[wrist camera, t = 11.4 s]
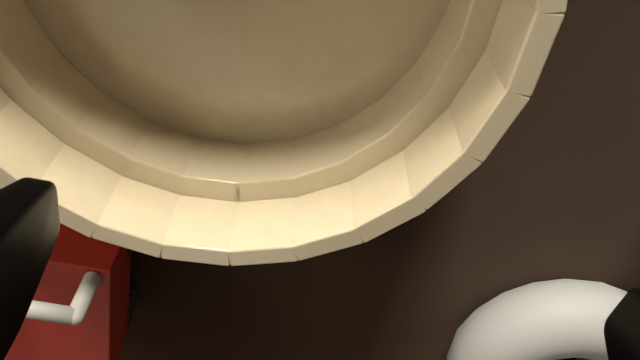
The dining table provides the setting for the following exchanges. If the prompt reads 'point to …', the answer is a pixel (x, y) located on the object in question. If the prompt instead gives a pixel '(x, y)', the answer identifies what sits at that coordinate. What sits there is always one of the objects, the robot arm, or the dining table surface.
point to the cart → (78, 303)
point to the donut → (539, 323)
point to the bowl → (259, 114)
